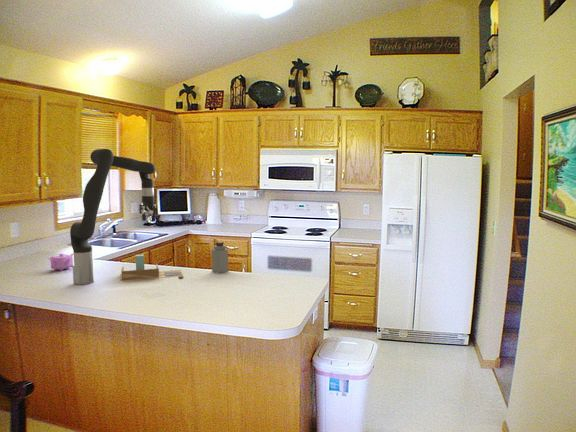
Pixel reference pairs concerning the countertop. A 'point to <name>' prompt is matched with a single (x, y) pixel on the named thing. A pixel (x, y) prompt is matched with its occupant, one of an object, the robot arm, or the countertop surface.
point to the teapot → (61, 262)
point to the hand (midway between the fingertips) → (148, 221)
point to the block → (140, 262)
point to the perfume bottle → (219, 258)
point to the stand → (148, 274)
